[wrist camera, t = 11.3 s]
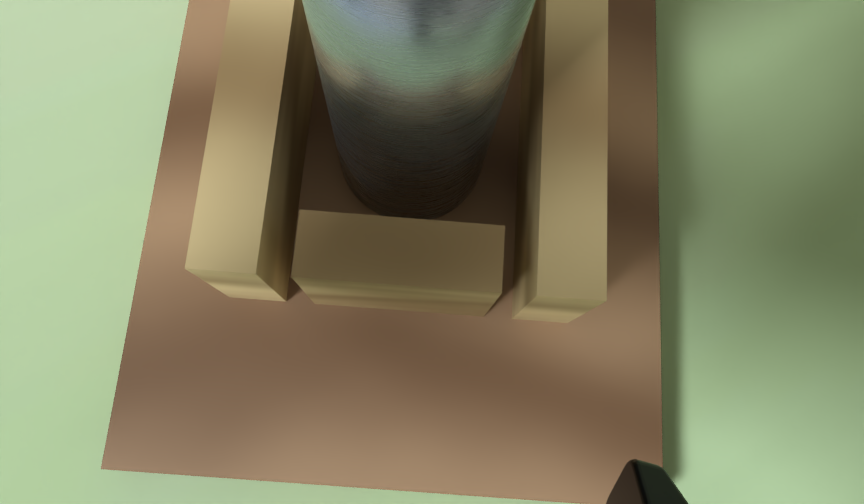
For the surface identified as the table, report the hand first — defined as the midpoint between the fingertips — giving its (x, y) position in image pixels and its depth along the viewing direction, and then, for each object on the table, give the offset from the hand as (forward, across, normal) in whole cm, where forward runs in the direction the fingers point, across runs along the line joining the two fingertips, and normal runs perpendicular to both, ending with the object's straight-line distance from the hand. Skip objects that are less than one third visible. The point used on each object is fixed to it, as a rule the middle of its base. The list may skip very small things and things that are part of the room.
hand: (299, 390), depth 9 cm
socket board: (+11, 0, +1) cm, 11 cm away
